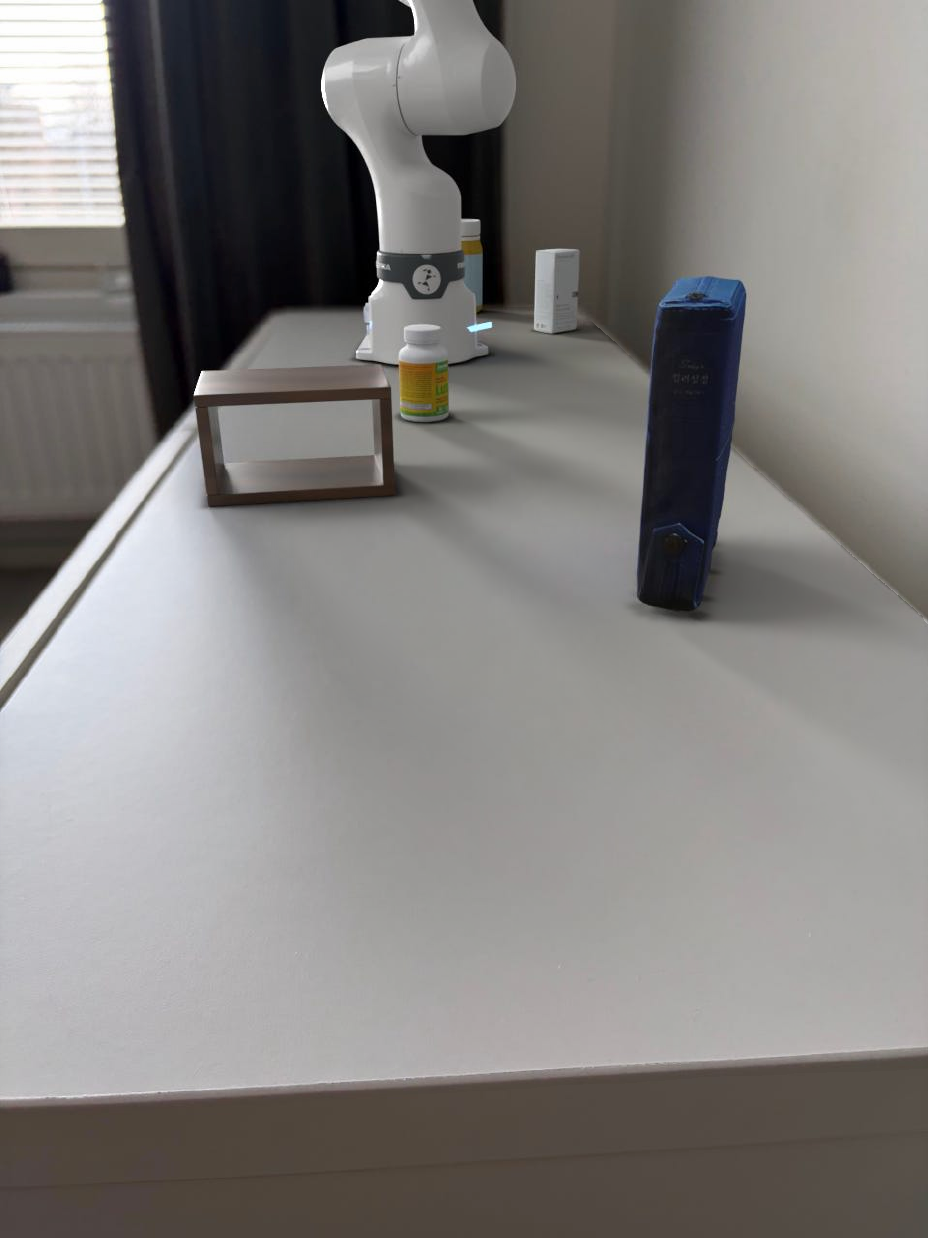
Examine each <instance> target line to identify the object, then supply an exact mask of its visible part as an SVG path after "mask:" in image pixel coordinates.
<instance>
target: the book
mask: <svg viewBox="0 0 928 1238" xmlns="http://www.w3.org/2000/svg"><path fill="white" fill-rule="evenodd" d="M746 303H747V291H746V288H745V285H744V283H743V282H742V281H741V280H740V279H731V278H724V277H723V278H722V277H717V276H713V275H712V276H711V275H706V276H698V277H697V276H696V277H680V278H677V279H676V281H675V282H674V283H673V285H672V287H671V289H670V291H669V292H667V293H666V295H664V296H663V298H662V299H661V300H660V301H659V304H658V305H657V309H656V315H655V317H654V319H655V322H654V326H653V328H654V329H653V339H652V348H651V361H650V370H649V371H650V372H649V389H648V400H647V403H648V404H647V417H646V434H645V435H646V436H645V446H644V461H643V462H644V463H643V475H642V476H643V478H642V493H641V494H642V495H641V505H640V517H639V518H640V519H639V537H638V538H639V539H638V549H637V550H638V551H637V552H638V553H637V563H636V564H637V565H636V597H637V599H638V601H639V602H641V603H642V604H644V605H646V606H648V607H649V606H650V607H655V608H659V609H665V610H668V611H672V612H688V613H691V612H694V611H695V610H697V609H698V608H699V607H700V606H701V605H702V601H703V598H704V597H703V595H704V590H705V587H706V584H707V579H708V576H709V572H710V570H711V565H712V558H713V557H712V556H713V552H714V549H715V547H716V545H717V541H718V534H719V524H720V520H721V518H722V512H723V506H724V501H725V493H726V491H725V490H726V481H727V475H728V474H727V473H728V467H729V461H730V456H731V450H732V441H733V431H734V425H735V420H736V400H737V393H738V383H739V374H740V373H739V372H740V364H741V355H742V344H743V333H744V325H745V324H744V323H745V318H746V305H747V304H746Z"/></svg>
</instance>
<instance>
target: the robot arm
mask: <svg viewBox="0 0 928 1238" xmlns="http://www.w3.org/2000/svg"><path fill="white" fill-rule="evenodd" d="M398 1H399V2H401V3H402V4H403V5H405V6H407V7H409V8H411V12H412V15H413V21H414V33H413V35H410V36H409V35H408V36H392V37H391V36H390V37H389V36H388V37H387V36H386V37H370V38H369V37H367V38H364V39H360V40H357V41H352V42H349V43H347V44H344V45H341V46H339V47H336V48H334V49H333V50H332V51H331V53H330V54H329V55H328V57H327V59H326V61H325V64H324V67H323V70H322V76H321V95H322V100H323V103H324V106H325V108H326V111H327V113H328V115H329V116H330V118H331V120H332V121H333V123H335V124H336V125H337V126H338V128H340V129H341V130H342V131H343V132H345V133H346V135H347V136H348V137H349V138H350V139H351V140H352V142H353V143H354V144H355V145H356V147H357V149H358V150H359V152H360V154H361V156H362V157H363V159H364V162H365V164H366V167H367V168H368V171H369V175H370V177H371V180H372V184H373V188H374V194H375V201H376V212H377V213H376V214H377V224H378V225H377V226H378V241H379V249H378V250H377V252H376V261H375V267H376V277H377V279H378V284H377V286H376V287H375V289H374V290H373V291H372V292H371V295H369V296H368V302H366V303H365V305H364V306H363V322H364V323H365V324H366V327H365V333H366V335H365V337H364V338H363V340H362V342H361V343H360V344H359V346H358V348H357V349H356V351H355V359H357V360H362V361H372V362H373V361H374V362H380V363H383V364H389V365H398V366H399V352H400V350H401V349H402V348H404V347H406V346H407V342H405V339H404V328H405V327H406V326H410V325H420V324H427V325H436V326H439V327H441V341H440V342H439V345H440V346H442V347H444V348H445V349H446V351H447V353H448V365H450V364H451V365H452V364H457V363H462V362H466V361H468V360H471V359H473V358H477V357H482V356H486V355H489V347H488V345H486V344H484V343H481V342H479V341H478V331H482V330H486V329H491V328H493V322H492V321H488V322H484V323H479V324H478V323H477V313H476V299H475V294H474V293H472V291H471V290H470V289H469V288H468V287H467V286H466V285H465V283H464V281H463V278H464V277H465V258H464V251H463V250H462V249H461V219H462V195H461V191H460V188H459V187H458V185H457V183H456V181H455V180H454V179H453V177H451V175H449V174H448V173H446V172H445V171H444V170H443V169H441V168H439V167H437V166H436V165H434V164H433V163H432V162H431V161H430V158H428V155H427V153H426V151H425V149H424V145H423V138H422V136H467V135H470V134H476V133H481V132H484V131H487V130H492V129H495V128H498V127H500V126H501V125H502V124H503V122H504V121H505V120H506V118H508V115H509V114H510V111H511V109H512V107H513V105H514V101H515V97H516V93H517V92H516V90H517V78H516V77H517V76H516V69H515V67H514V62H513V60H512V58H511V56H510V53H509V52H508V51H507V49H506V48H505V46H504V45H503V44H502V43H501V42H500V41H499V40H498V39H497V38H496V37H495V36H493V34H492V33H491V32H490V31H489V29H488V28H487V27H486V26H485V24H484V22H483V21H482V19H481V17H480V15H479V13H478V11H477V8H476V5H475V3H474V0H398Z"/></svg>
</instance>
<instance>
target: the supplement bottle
mask: <svg viewBox="0 0 928 1238" xmlns="http://www.w3.org/2000/svg"><path fill="white" fill-rule="evenodd" d="M404 339H405V342H407V346H406V347H404V348H402V349H401V350H400V352H399V365H398V377H399V378H398V379H399V407H400V408H399V409H400V416H401V418H402V419H404V420H406V421H408V422H415V423H431V422H440V421H443V420H445V419H446V418H448V416H449V413H450V411H449V410H450V409H449V408H450V407H449V405H450V404H449V403H450V402H449V395H450V394H449V364H448V353H447V351H446V349H445V348H444V347H442V346H440V345H439V342H440V341H441V327H439V326H436V325H427V324H420V325H410V326H406V327H405V328H404Z"/></svg>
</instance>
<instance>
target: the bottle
mask: <svg viewBox="0 0 928 1238" xmlns="http://www.w3.org/2000/svg"><path fill="white" fill-rule="evenodd" d="M461 249H462V250H463V251H464V258H465V277H464V278H463V281H464V283H465V285H466V286H467V287H468V288H469V289H470V290H471V291H472V293H474V294H475V299H476V314H477V313H480V312H481V310H482V308H483V276H484V275H483V271H484V270H483V269H484V268H483V263H484V261H483V259H484V257H483V255H484V253H483V245H482V243H481V220H480V219H475V218H461Z"/></svg>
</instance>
